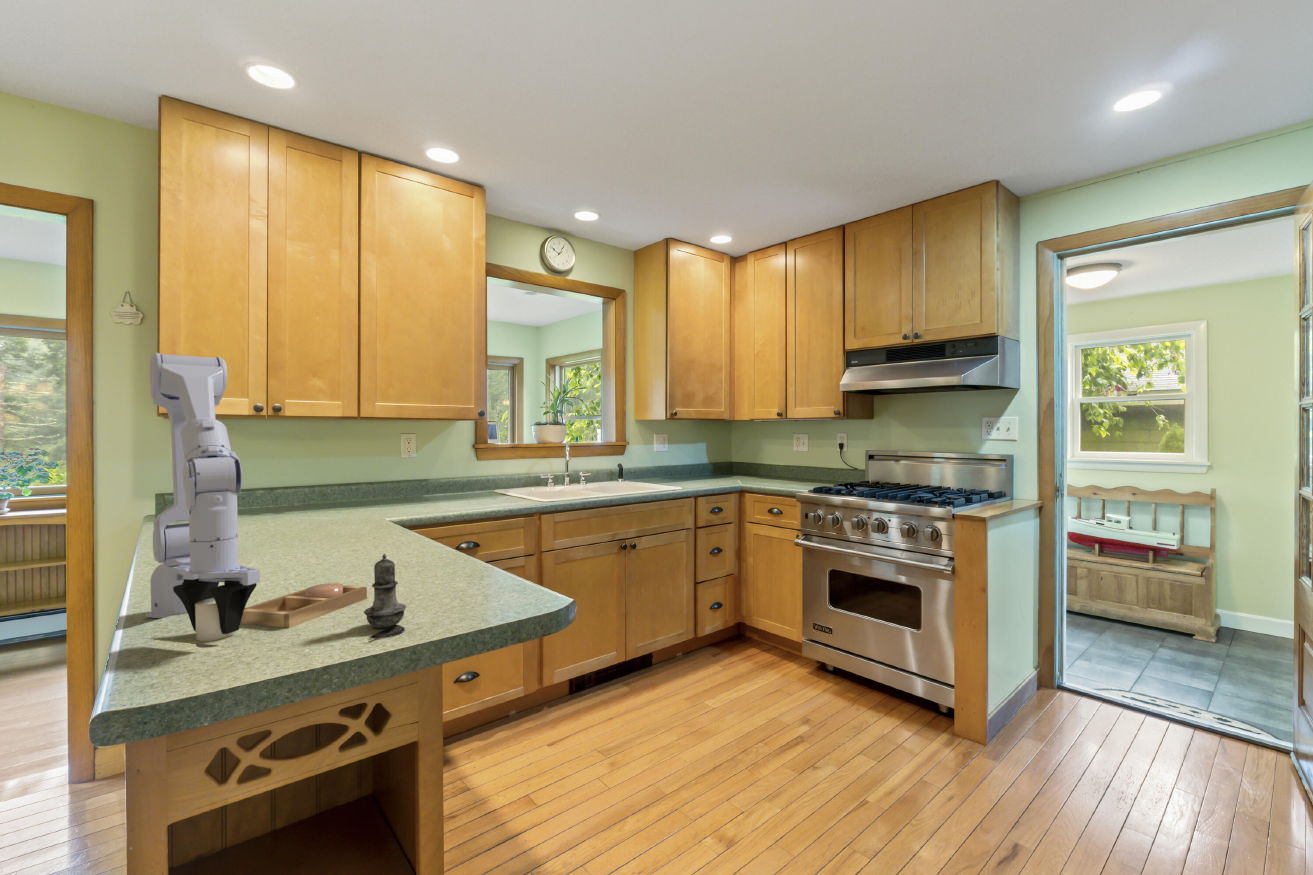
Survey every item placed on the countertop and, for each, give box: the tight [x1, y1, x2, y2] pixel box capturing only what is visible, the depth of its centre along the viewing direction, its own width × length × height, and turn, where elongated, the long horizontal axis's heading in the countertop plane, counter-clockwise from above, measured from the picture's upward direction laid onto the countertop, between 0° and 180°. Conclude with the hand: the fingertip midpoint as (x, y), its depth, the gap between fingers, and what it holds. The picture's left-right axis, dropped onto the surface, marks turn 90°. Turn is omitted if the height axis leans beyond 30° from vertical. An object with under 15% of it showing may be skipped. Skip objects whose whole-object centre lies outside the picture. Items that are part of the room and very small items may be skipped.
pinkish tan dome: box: [305, 582, 344, 599], centre depth 102 cm, size 6×6×3 cm
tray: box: [240, 585, 368, 629], centre depth 98 cm, size 10×16×3 cm, turn 165°
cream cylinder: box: [195, 598, 238, 649], centre depth 87 cm, size 5×5×6 cm
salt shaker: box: [363, 553, 407, 639], centre depth 89 cm, size 6×6×12 cm
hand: (216, 630), depth 87 cm, fingers closed on cream cylinder, 5 cm apart
